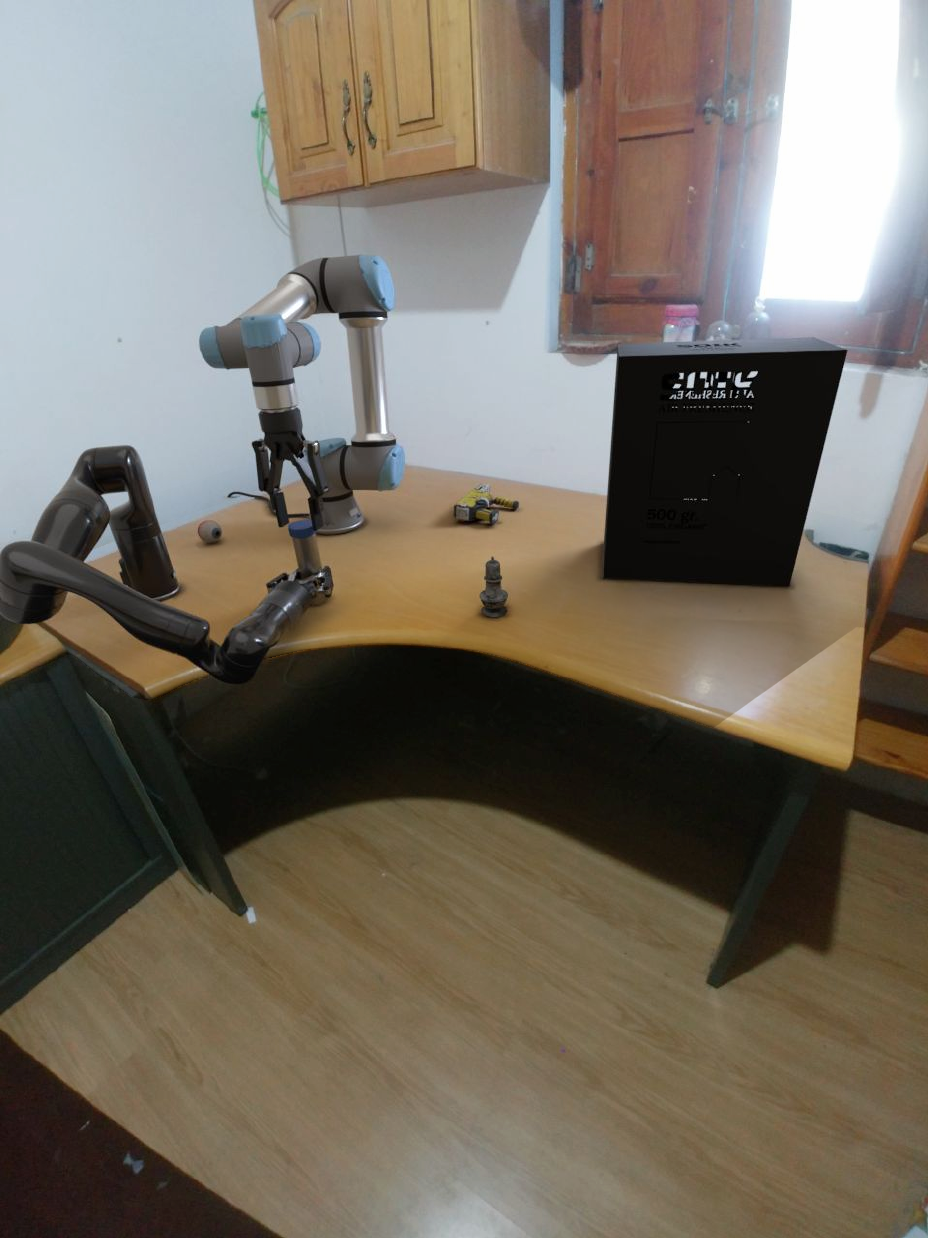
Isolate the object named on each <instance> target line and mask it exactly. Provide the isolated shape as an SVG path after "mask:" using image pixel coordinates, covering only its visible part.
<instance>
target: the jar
mask: <svg viewBox="0 0 928 1238" xmlns="http://www.w3.org/2000/svg"><path fill="white" fill-rule="evenodd" d="M291 539H292V540H291V541H292V544H293V548H294V555H295V559H296V563H297V568H298V569H299V573H300V578H301V580H305V579H307V578H309V577H310V576H312V575H314V576H316V575H318V574H319V573H320V572H321V570H322V569H323V565H322V561H321V555H320V549H319V544H318V539H317V533H315V534H314V535H312V536H309V537H305V538H294V537H291ZM319 583H320V579H319ZM328 599H329V598H326V597H325V595H317V597H316V598H314V599H312V600H311V603H310V605H309V606H311V607H312V606H319V605H323V604H325V603H326V602H328Z"/></svg>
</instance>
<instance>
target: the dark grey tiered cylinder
mask: <svg viewBox="0 0 928 1238" xmlns="http://www.w3.org/2000/svg"><path fill="white" fill-rule="evenodd" d="M483 579H484V581H485V589H484V590H482V591H480V593H479V594H478V597H479V600H480V601H481V604H482V605H483V606H482V608H481V609H480V610H481V614H482V615H484V616H485V617H490V618H497V617H498V618H499V617H502V616H504V615H506V614H507V612H508V607H507V606H505V605H506V603H507V601H508V600H507V599H508V598H509V593H508V591H506V590H505V589H504V588H502V580H503V576H502V575H501V563H500V562H499V560H496V559H495V557H494V556H493V555H492V556H491V557H490V559H489V560H488V561H486V562H485V575H484V576H483Z"/></svg>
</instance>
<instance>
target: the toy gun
mask: <svg viewBox="0 0 928 1238" xmlns="http://www.w3.org/2000/svg"><path fill="white" fill-rule="evenodd" d="M493 505H495V506H500V507H504V508H510V509H512V510H514V511H516V510H518V509H519V507H520V502H519V501H518V500H512V499H508V498H504V497H500V496H496V497H495V498H493V496H492V494H491V485H490V484H488V483H486V484H485V483H482V482H481V483H480V484H479V485H477V486H476V487H475V488H473V489H471V491H469V492H468V493H467V494H465V496H464V497H462V498H461V499H460V500H459V501H458V502H456V503H455V504H454V505H453V511H452V513H453V514H452V517H453V518H454V519H455V520H457V522H462V523H464V522H465V521H467V522H471V521H477V520H482V521H483V520H484V521H486V522H489V525H492V526H493V524H495V523H497V522H498V521H499V515H500V509H498V508H494V510H493V509H492V507H491V506H493Z"/></svg>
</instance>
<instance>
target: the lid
mask: <svg viewBox="0 0 928 1238" xmlns="http://www.w3.org/2000/svg"><path fill="white" fill-rule="evenodd" d="M287 530H288V536H289V537H291V538H292V537H294V538H305V537H309V536H312V535H314V534H315V533H316V532H317V531H314V530H313V526H312V521H311V520H309V519H300V520H295V521H292V522H290V523H289V524H287ZM316 534H317V533H316Z"/></svg>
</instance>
